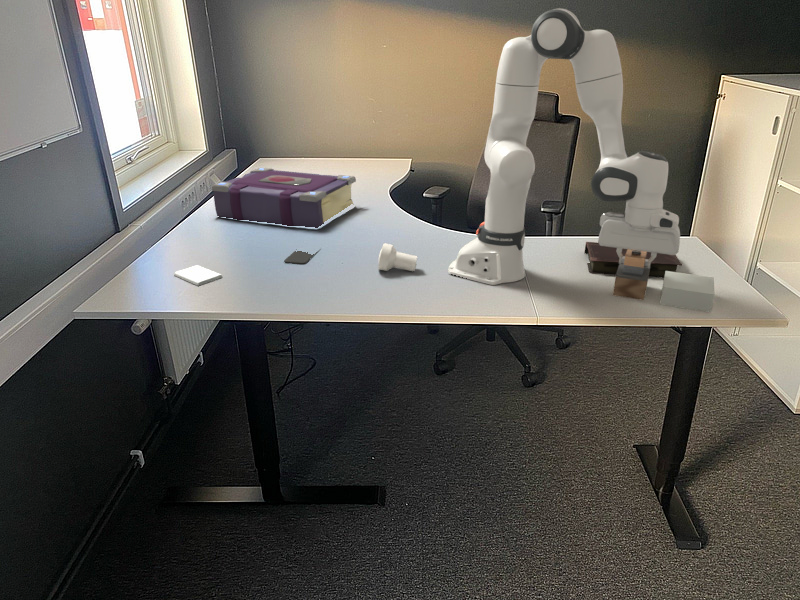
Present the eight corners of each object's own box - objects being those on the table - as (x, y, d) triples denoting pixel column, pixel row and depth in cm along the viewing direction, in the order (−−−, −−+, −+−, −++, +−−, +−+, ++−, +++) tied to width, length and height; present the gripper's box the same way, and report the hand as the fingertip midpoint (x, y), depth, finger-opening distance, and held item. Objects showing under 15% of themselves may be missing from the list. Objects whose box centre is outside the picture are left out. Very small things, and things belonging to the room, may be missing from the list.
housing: (622, 273, 163) (625, 254, 160) (625, 264, 168) (628, 246, 166) (642, 276, 161) (645, 257, 159) (644, 267, 167) (647, 249, 164)
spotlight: (379, 259, 186) (383, 237, 182) (415, 268, 186) (420, 246, 181) (374, 274, 180) (378, 251, 175) (412, 282, 180) (417, 260, 175)
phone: (321, 247, 200) (305, 263, 186) (321, 249, 200) (305, 265, 187) (300, 245, 201) (282, 261, 188) (300, 248, 202) (282, 263, 188)
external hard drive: (198, 287, 172) (174, 277, 180) (222, 279, 178) (198, 269, 185) (197, 282, 172) (173, 272, 179) (222, 274, 177) (197, 264, 185)
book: (316, 233, 215) (313, 194, 209) (212, 219, 231) (206, 182, 225) (357, 208, 243) (355, 173, 237) (261, 197, 259) (258, 164, 253)
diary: (583, 254, 195) (585, 239, 193) (666, 259, 191) (669, 244, 189) (589, 275, 178) (591, 259, 176) (679, 281, 174) (682, 265, 172)
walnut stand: (612, 295, 164) (615, 274, 162) (616, 282, 173) (619, 262, 170) (644, 300, 161) (647, 279, 159) (646, 286, 170) (650, 266, 167)
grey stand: (659, 304, 159) (663, 286, 157) (662, 287, 169) (665, 270, 167) (710, 312, 155) (714, 294, 153) (709, 294, 165) (713, 277, 162)
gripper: (599, 214, 159) (592, 263, 165) (684, 223, 152) (674, 274, 158) (602, 207, 165) (596, 255, 170) (684, 216, 157) (675, 266, 163)
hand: (634, 265), depth 164 cm, fingers closed on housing, 5 cm apart
